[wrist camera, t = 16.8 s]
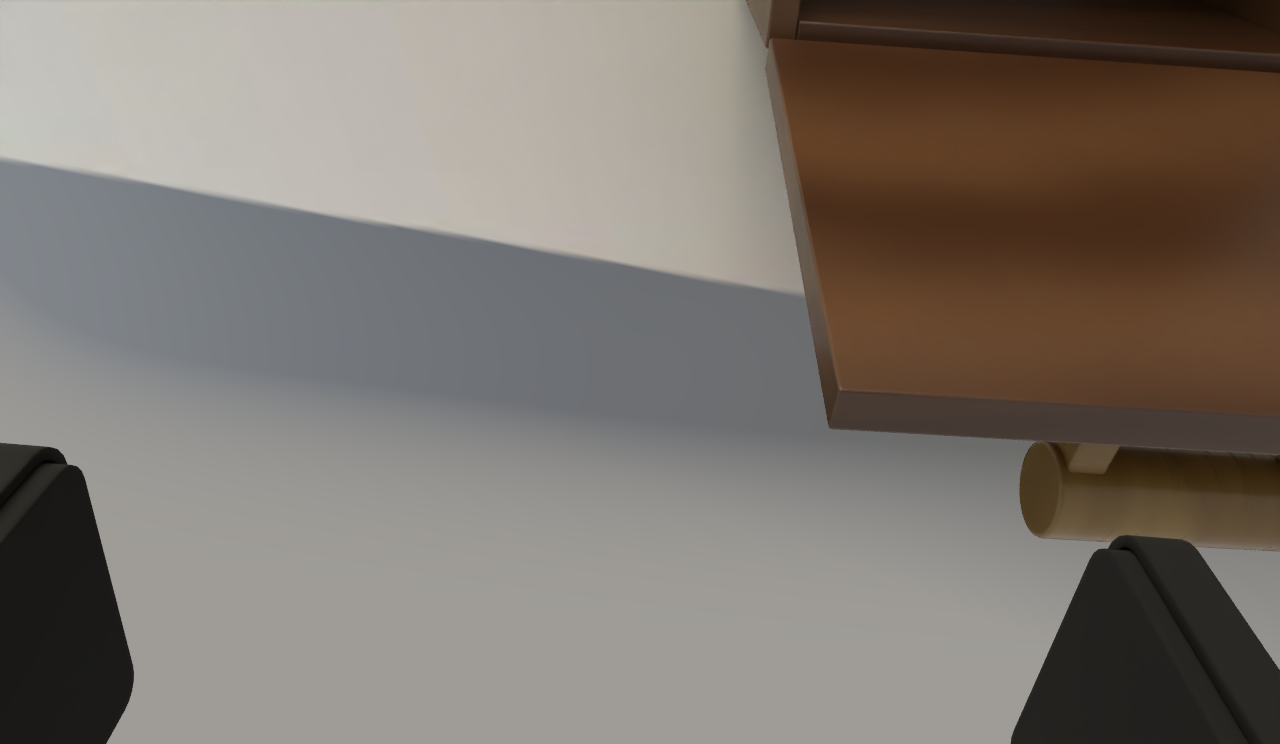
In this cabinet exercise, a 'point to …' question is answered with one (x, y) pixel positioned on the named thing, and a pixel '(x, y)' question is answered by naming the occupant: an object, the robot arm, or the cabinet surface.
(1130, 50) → the chest
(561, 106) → the cabinet surface
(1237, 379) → the lid
